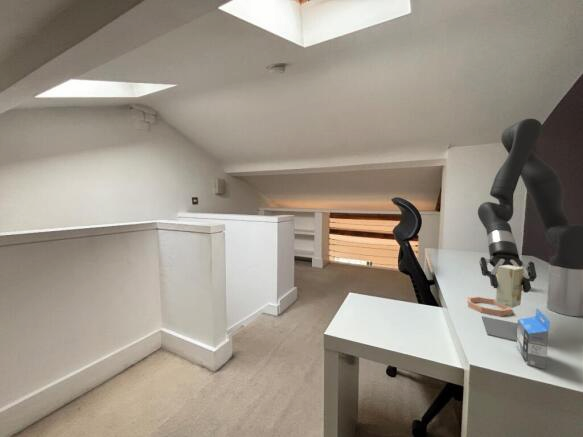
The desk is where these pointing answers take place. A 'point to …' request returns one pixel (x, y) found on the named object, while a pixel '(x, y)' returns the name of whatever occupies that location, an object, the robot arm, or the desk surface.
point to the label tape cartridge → (533, 340)
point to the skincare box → (509, 285)
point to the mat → (501, 328)
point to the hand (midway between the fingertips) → (511, 289)
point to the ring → (485, 310)
